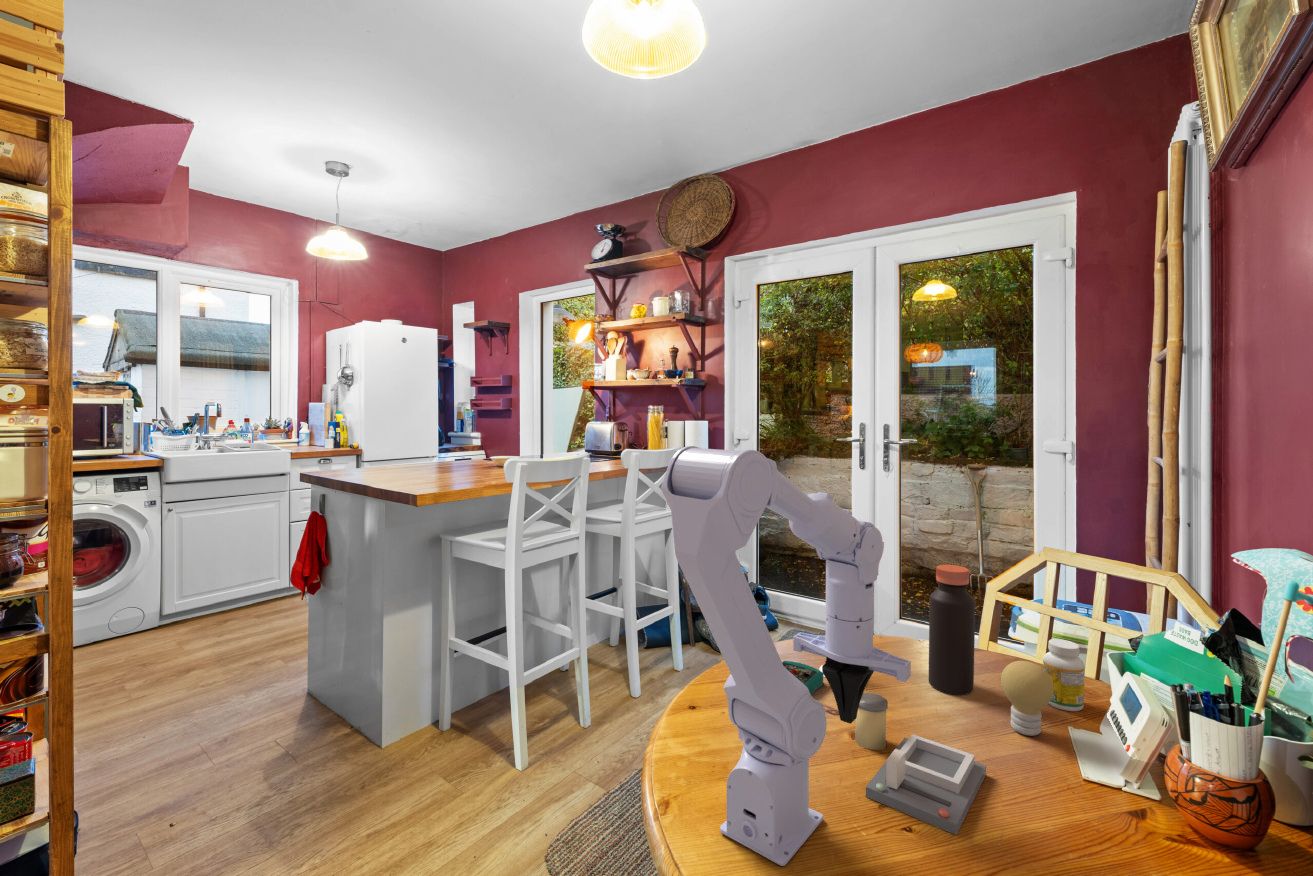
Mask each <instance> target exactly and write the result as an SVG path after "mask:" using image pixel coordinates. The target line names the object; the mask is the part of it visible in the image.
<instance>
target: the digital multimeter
mask: <svg viewBox="0 0 1313 876" xmlns="http://www.w3.org/2000/svg"><path fill="white" fill-rule="evenodd" d="M782 664H783V666H784V667H785V668H786V669H787V670H788V671H789V672H790V673H791V674H793V675H794V676H795V677H796V678H797V679H798V680H800V681H801V682H802V683H803V684H804V685H805V686H806V687H807V688H808V690H809V692H810V694H811V695H812V694H813V693H814V692H815V691H816V690H818V689H819V688H820V687H821V686H822V685H824V677H823V673H822V672H821V671H820V669H818V668H816V667H814V666H810V665H809V664H808V665H807V664H805V663H802V662H797V661H796V662H795V661H791V660H783V661H782Z"/></svg>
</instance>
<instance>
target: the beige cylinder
mask: <svg viewBox="0 0 1313 876" xmlns="http://www.w3.org/2000/svg"><path fill="white" fill-rule="evenodd" d="M888 707H889V701H888V700H887V699H886V698H885V697H884V696H883V695H880V694H878V693H874V692H865V691H864V692H863V695H862V697H861V700H860V704H859V708H858V712H857V718H856V719H855V730H854V731H855V734H854V735H855V737H854V738H855V739H854V740H855V742H856V744H857V745H858V746H860V747H861V748H864V749H866V750H871V751H881V750H883V749H885V748H886V746H887V745H886V744H887V741H886V740H887V710H888Z"/></svg>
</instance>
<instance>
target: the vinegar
mask: <svg viewBox="0 0 1313 876" xmlns="http://www.w3.org/2000/svg"><path fill="white" fill-rule="evenodd" d="M935 567H936V569H935V570H936V571H935V572H936V573H935V580H936V584H937V585H938V586H937V588H936V589H935V590H933V592H931V593H930V595H929V614H928V615H929V619H928V621H929V623H928V624H929V625H928V626H929V627H928V636H929V637H928V684H929V685H930V686H931V687H932V688H934V689H935V690H937V691H940V692H941V693H945V694H948V695H953V696H954V695H957V696H963V695H964V696H965V695H969V694H970V693H972V692H973V691H974V686H975V683H974V681H975V680H974V679H975V639H976V638H975V636H976V635H975V631H976V630H975V629H976V627H975V626H976V625H975V624H976V601H975V598H974V597H973V596H972V595H971V594H970V593H969V592H968V590H967V589H968V587H969V585H970V569H969V568H967V567H964V566H961V565H956V564H939V565H937V566H935Z"/></svg>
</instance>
